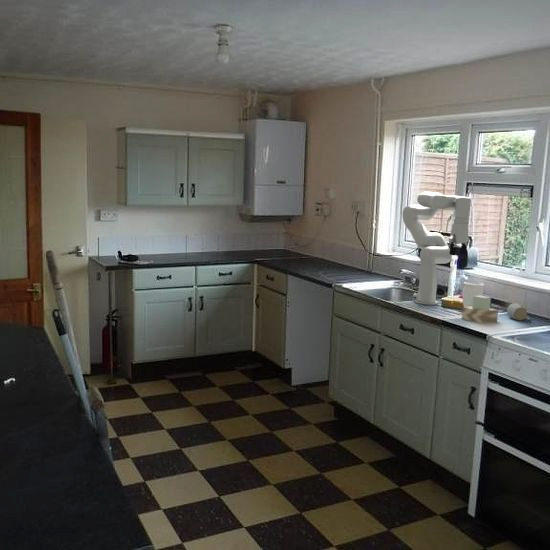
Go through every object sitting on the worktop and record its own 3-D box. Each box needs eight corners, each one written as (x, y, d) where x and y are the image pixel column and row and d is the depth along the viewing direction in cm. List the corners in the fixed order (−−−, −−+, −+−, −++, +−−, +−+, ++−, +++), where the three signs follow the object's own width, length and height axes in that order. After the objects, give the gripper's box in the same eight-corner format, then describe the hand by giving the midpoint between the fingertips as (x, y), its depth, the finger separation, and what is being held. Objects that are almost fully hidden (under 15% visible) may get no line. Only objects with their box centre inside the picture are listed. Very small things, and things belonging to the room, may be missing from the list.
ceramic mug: (513, 320, 313) (515, 305, 312) (505, 317, 321) (507, 302, 320) (533, 321, 314) (535, 306, 313) (524, 318, 322) (526, 303, 321)
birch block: (461, 318, 312) (463, 307, 311) (476, 316, 319) (477, 305, 318) (482, 324, 302) (483, 312, 302) (497, 321, 310) (498, 310, 309)
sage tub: (472, 307, 310) (473, 296, 309) (478, 306, 314) (480, 295, 313) (483, 310, 306) (484, 298, 305) (489, 309, 310) (490, 297, 309)
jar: (480, 313, 326) (484, 285, 323) (460, 311, 329) (463, 283, 327) (481, 310, 336) (484, 282, 333) (461, 307, 339) (464, 280, 337)
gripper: (464, 220, 327) (461, 253, 330) (445, 220, 316) (441, 254, 319) (477, 221, 322) (473, 254, 324) (457, 221, 310) (454, 256, 313)
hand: (457, 254), depth 321 cm, fingers open, 9 cm apart
